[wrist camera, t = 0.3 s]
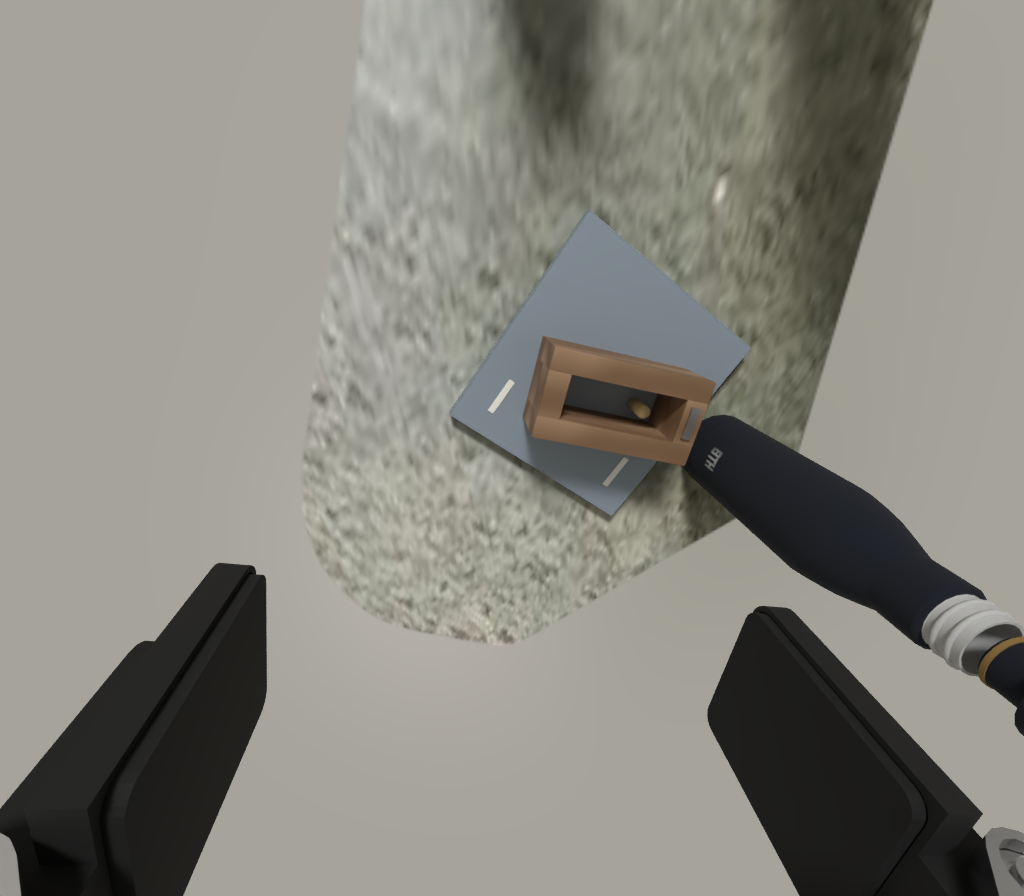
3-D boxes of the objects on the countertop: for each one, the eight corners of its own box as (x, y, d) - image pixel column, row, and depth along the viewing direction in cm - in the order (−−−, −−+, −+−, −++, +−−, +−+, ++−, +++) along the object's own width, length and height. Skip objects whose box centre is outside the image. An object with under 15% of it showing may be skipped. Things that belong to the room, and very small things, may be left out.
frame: (542, 335, 37) (556, 346, 32) (685, 368, 39) (717, 383, 34) (522, 415, 39) (532, 437, 34) (658, 442, 41) (685, 466, 37)
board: (585, 211, 35) (599, 206, 32) (743, 345, 40) (770, 353, 37) (450, 410, 40) (449, 425, 36) (607, 509, 45) (620, 530, 41)
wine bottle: (751, 471, 45) (1239, 819, 17) (684, 489, 45) (1064, 868, 17) (748, 406, 42) (1309, 687, 15) (677, 425, 42) (1104, 744, 14)
